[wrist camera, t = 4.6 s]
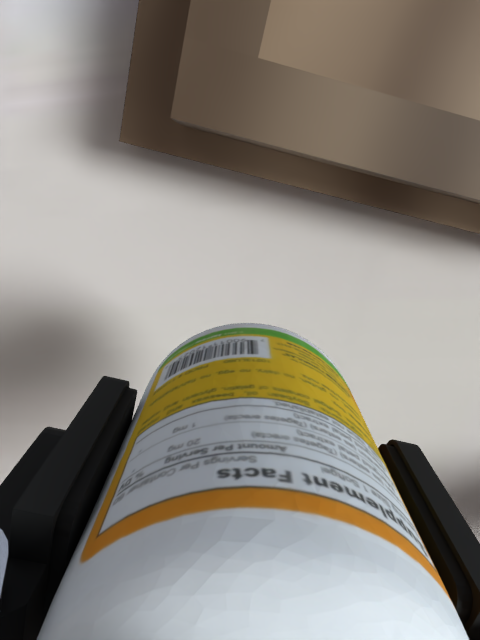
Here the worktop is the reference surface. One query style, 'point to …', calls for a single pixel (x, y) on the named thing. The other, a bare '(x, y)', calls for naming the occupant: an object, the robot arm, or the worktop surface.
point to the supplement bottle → (250, 511)
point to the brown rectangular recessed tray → (318, 96)
